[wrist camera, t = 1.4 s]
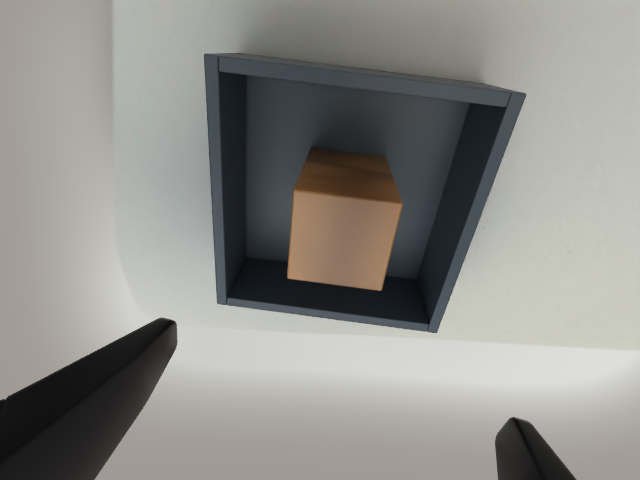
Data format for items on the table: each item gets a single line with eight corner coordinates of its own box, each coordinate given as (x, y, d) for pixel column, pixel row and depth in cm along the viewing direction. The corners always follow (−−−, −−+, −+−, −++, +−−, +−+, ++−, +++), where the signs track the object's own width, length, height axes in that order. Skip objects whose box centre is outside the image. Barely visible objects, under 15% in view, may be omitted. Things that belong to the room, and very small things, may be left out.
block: (303, 216, 22) (286, 279, 16) (310, 146, 20) (293, 189, 14) (372, 225, 22) (382, 292, 16) (386, 156, 20) (403, 203, 14)
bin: (239, 260, 25) (216, 304, 20) (237, 52, 18) (203, 53, 14) (421, 284, 24) (436, 333, 20) (484, 83, 18) (527, 93, 14)
